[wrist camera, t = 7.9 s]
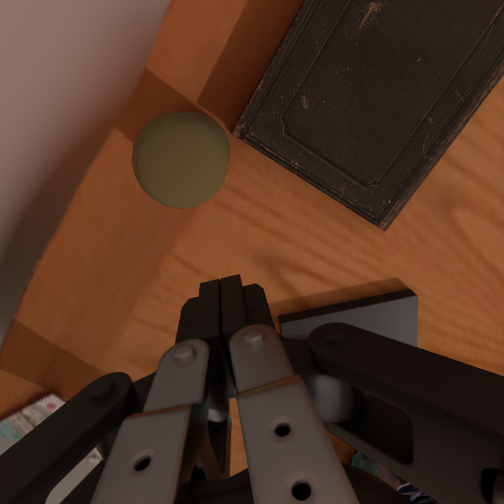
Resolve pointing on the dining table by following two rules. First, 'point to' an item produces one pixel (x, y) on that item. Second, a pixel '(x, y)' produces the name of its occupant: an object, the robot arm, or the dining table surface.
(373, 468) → the decorative bowl
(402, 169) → the hardcover book
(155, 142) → the cork
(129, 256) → the dining table surface
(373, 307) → the dark grey button base
